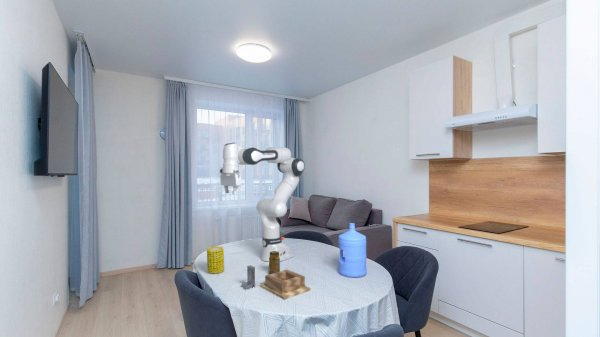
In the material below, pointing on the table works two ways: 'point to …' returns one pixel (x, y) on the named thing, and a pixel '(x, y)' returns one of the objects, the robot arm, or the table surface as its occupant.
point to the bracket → (250, 278)
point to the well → (285, 284)
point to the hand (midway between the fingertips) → (230, 193)
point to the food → (215, 259)
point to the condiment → (274, 262)
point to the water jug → (352, 253)
